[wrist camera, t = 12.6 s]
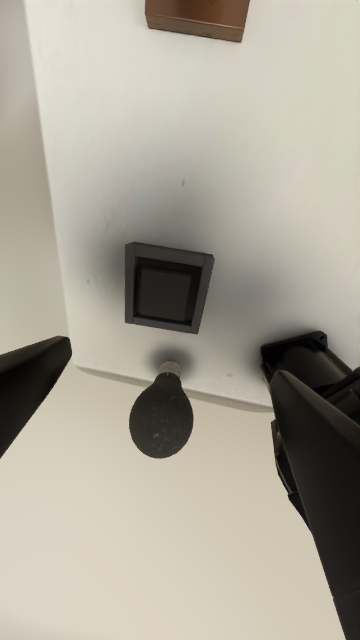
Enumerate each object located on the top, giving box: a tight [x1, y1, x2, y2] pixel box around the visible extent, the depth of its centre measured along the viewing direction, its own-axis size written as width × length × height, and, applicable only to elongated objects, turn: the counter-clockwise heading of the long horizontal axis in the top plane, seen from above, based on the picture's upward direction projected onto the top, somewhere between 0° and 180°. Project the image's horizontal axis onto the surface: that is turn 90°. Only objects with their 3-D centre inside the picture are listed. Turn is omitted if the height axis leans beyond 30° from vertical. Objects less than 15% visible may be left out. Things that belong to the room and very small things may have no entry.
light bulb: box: [129, 361, 193, 459], centre depth 18 cm, size 6×6×10 cm
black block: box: [140, 265, 192, 321], centre depth 16 cm, size 4×4×2 cm
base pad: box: [125, 242, 214, 334], centre depth 17 cm, size 7×7×2 cm
